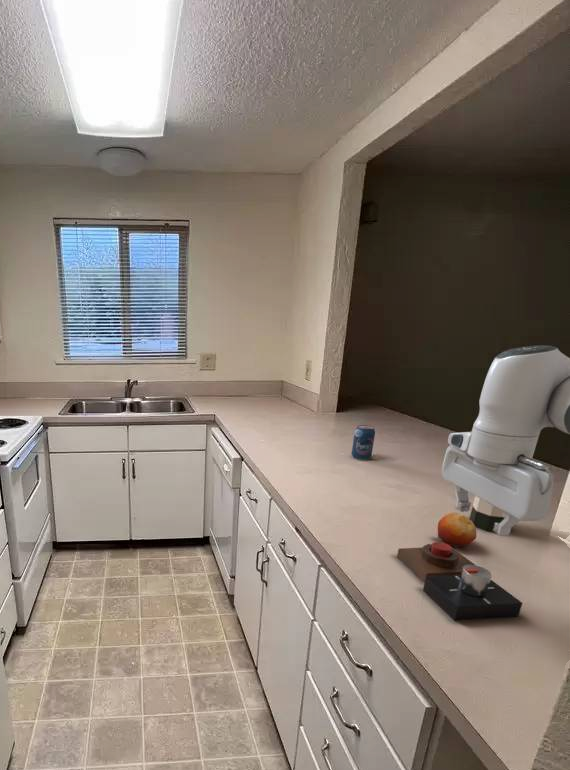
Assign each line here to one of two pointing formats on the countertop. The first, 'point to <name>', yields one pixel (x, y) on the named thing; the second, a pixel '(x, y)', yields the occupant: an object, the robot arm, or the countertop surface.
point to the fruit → (456, 530)
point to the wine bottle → (485, 515)
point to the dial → (474, 580)
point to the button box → (432, 562)
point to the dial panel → (471, 600)
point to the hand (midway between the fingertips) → (480, 521)
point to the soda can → (363, 442)
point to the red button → (441, 549)
